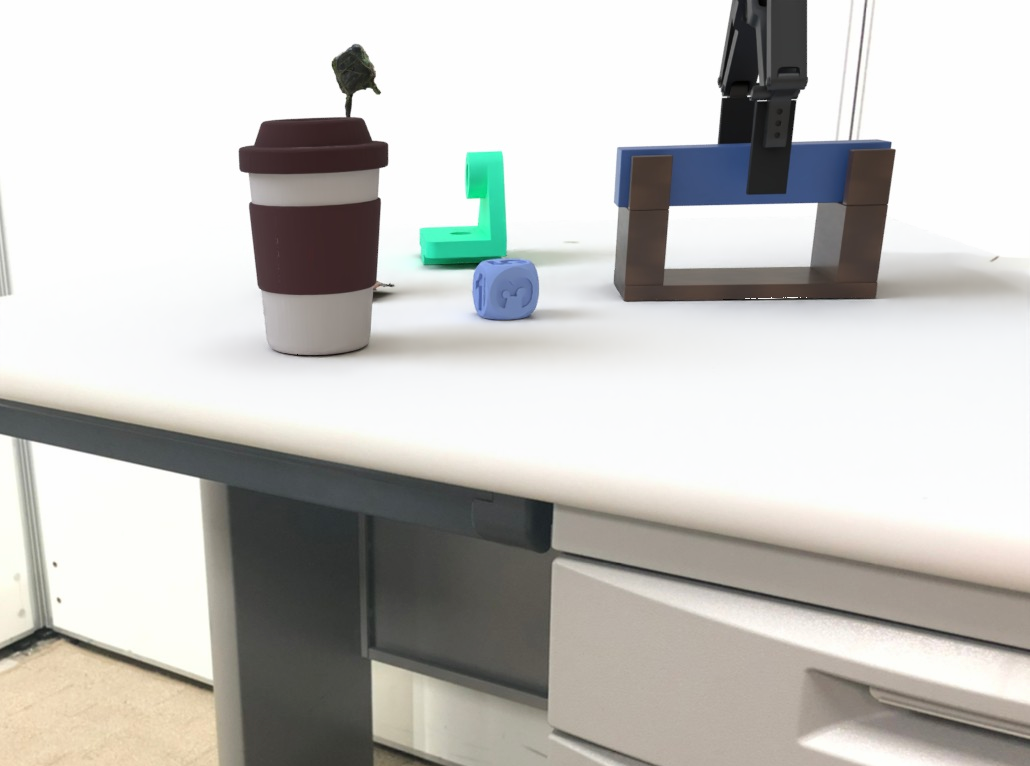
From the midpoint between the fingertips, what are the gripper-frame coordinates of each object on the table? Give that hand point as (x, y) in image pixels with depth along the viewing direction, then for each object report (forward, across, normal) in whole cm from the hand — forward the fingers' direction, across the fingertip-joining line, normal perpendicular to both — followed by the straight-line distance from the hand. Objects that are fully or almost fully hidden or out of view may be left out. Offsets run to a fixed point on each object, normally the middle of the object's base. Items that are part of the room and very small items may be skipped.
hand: (747, 186), depth 95 cm
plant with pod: (+8, 0, -34) cm, 35 cm away
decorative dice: (+8, +10, -19) cm, 23 cm away
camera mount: (+8, -20, -23) cm, 32 cm away
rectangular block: (+1, 0, 0) cm, 1 cm away
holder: (+8, 0, 0) cm, 8 cm away
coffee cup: (+8, +21, -32) cm, 39 cm away
